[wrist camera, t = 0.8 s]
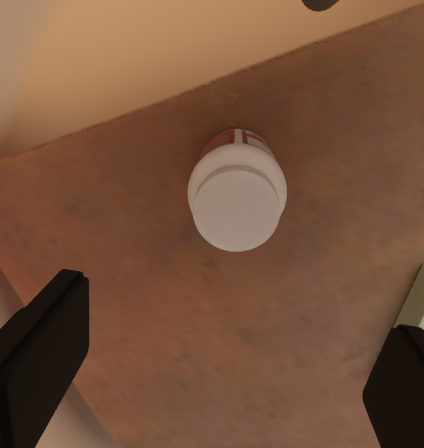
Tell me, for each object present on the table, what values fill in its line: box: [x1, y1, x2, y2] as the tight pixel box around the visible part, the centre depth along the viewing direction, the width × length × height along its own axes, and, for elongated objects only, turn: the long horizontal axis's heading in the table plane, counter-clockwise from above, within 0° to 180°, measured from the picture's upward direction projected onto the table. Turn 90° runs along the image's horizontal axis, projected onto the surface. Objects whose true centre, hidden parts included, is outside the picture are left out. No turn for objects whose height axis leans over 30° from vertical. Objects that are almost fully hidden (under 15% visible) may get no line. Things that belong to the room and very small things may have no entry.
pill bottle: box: [188, 129, 287, 252], centre depth 23 cm, size 6×6×11 cm
